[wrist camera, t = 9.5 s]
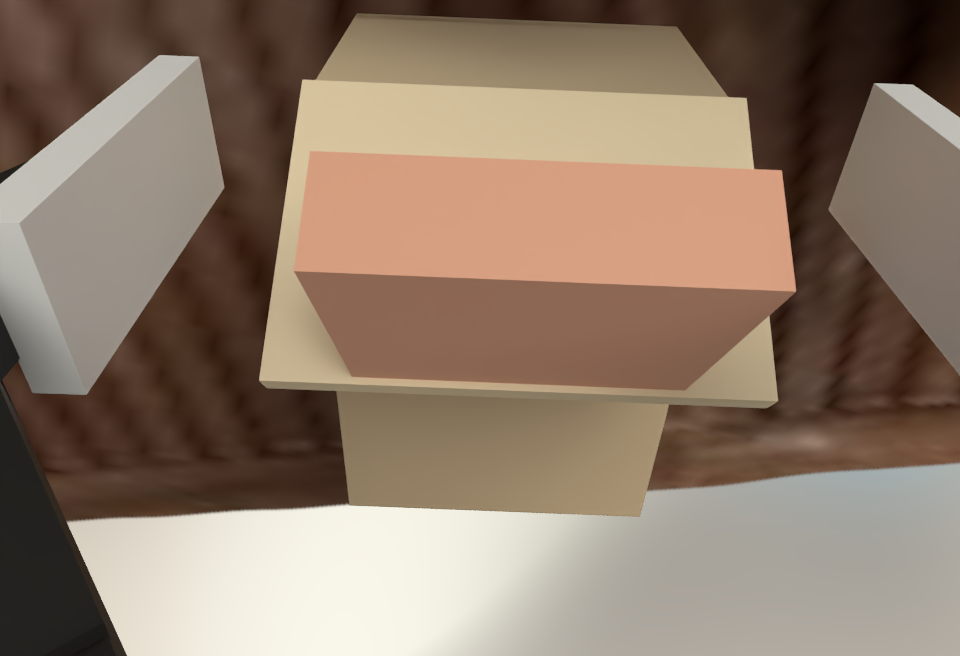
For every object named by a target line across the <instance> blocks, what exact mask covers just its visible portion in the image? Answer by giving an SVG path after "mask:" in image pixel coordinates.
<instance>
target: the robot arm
mask: <svg viewBox="0 0 960 656" xmlns="http://www.w3.org/2000/svg"><path fill="white" fill-rule="evenodd" d="M223 189H224V183H223V178H222V173H221V168H220V162H219V157H218V152H217V147H216V142H215V137H214V132H213V126H212V121H211V116H210V111H209V106H208V101H207V96H206V90H205V85H204V80H203V75H202V70H201V65H200V60H199V57H190V56H164V55H159V56H158V57H156V58H155V59H154V60H153V61H151V62H150V63H149V64H148V65H147V66H145V67H144V68H143V69H142V70H140V71H139V72H138V73H137V74H135V75H134V76H133V77H132V78H131V79H129V80H128V81H127V82H126V83H124V84H123V85H122V86H121V87H119V88H118V89H117V90H116V91H114V92H113V93H112V94H111V95H110V96H108V97H107V98H106V99H105V100H103V101H102V102H101V103H100V104H98V105H97V106H96V107H95V108H93V109H92V110H91V111H90V112H89V113H87V114H86V115H85V116H84V117H82V118H81V119H80V120H79V121H77V122H76V123H75V124H74V125H72V126H71V127H70V128H69V129H68V130H66V131H65V132H64V133H63V134H61V135H60V136H59V137H58V138H56V139H55V140H54V141H53V142H51V143H50V144H49V145H48V146H47V147H45V148H44V149H43V150H42V151H40V152H39V153H38V154H37V155H35V156H34V157H33V158H32V159H31V160H29V161H27V162H25V163H22V164H20V165H18V166H16V167H13V168H11V169H9V170H6V171H4V172H2V173H0V656H127V655H126V653H125V651H124V648H123V646H122V644H121V642H120V639H119V637H118V635H117V633H116V631H115V628H114V626H113V624H112V622H111V620H110V617H109V615H108V613H107V611H106V608H105V606H104V604H103V602H102V600H101V597H100V595H99V593H98V591H97V589H96V587H95V584H94V582H93V580H92V577H91V576H90V573H89V571H88V569H87V566H86V564H85V562H84V560H83V558H82V556H81V553H80V551H79V549H78V546H77V544H76V542H75V540H74V538H73V535H72V533H71V531H70V529H69V527H68V524H67V522H66V520H65V518H64V516H63V513H62V511H61V509H60V507H59V504H58V502H57V500H56V498H55V496H54V493H53V491H52V489H51V487H50V485H49V482H48V480H47V478H46V476H45V473H44V471H43V469H42V467H41V465H40V462H39V460H38V458H37V456H36V454H35V451H34V449H33V447H32V445H31V442H30V440H29V438H28V436H27V434H26V431H25V429H24V427H23V425H22V423H21V420H20V418H19V416H18V414H17V411H16V409H15V407H14V405H13V403H12V400H11V398H10V396H9V394H8V392H7V390H6V388H5V386H4V384H3V382H2V379H3V378H4V377H5V376H6V374H7V373H8V372H9V371H10V370H11V368H12V367H13V366H14V365H15V363H16V362H17V361H18V362H19V364H20V366H21V368H22V371H23V373H24V375H25V377H26V379H27V382H28V384H29V386H30V388H31V391H32V393H50V394H80V395H87V393H88V392H89V390H90V389H91V387H92V386H93V384H94V383H95V381H96V380H97V378H98V377H99V375H100V374H101V372H102V371H103V369H104V368H105V366H106V365H107V363H108V362H109V360H110V359H111V357H112V356H113V354H114V353H115V351H116V350H117V348H118V347H119V345H120V344H121V342H122V341H123V339H124V338H125V336H126V335H127V333H128V332H129V330H130V329H131V327H132V326H133V324H134V323H135V321H136V320H137V318H138V317H139V315H140V314H141V312H142V311H143V309H144V308H145V306H146V305H147V303H148V302H149V300H150V299H151V297H152V296H153V294H154V293H155V291H156V290H157V288H158V287H159V285H160V284H161V282H162V281H163V279H164V278H165V276H166V275H167V273H168V272H169V270H170V269H171V267H172V266H173V264H174V263H175V261H176V260H177V258H178V257H179V255H180V254H181V252H182V251H183V249H184V248H185V246H186V245H187V243H188V242H189V240H190V239H191V237H192V236H193V234H194V233H195V231H196V230H197V228H198V227H199V225H200V224H201V222H202V221H203V219H204V218H205V216H206V215H207V213H208V211H209V210H210V208H211V207H212V205H213V204H214V202H215V201H216V199H217V198H218V196H219V195H220V193H221V192H222V190H223ZM828 210H829V212H830V213H831V214H832V215H833V217H834V218H835V219H836V220H837V222H838V223H839V224H840V225H841V227H842V228H843V229H844V230H845V232H846V233H847V234H848V235H849V237H850V238H851V239H852V240H853V242H854V243H855V244H856V245H857V247H858V248H859V249H860V250H861V252H862V253H863V254H864V256H865V257H866V258H867V259H868V261H869V262H870V263H871V264H872V266H873V267H874V268H875V269H876V271H877V272H878V273H879V274H880V276H881V277H882V278H883V279H884V281H885V282H886V283H887V284H888V286H889V287H890V288H891V289H892V291H893V292H894V293H895V295H896V296H897V297H898V298H899V300H900V301H901V302H902V303H903V305H904V306H905V307H906V308H907V310H908V311H909V312H910V313H911V315H912V316H913V317H914V318H915V320H916V321H917V322H918V323H919V325H920V326H921V327H922V328H923V330H924V331H925V332H926V333H927V335H928V336H929V337H930V339H931V340H932V341H933V342H934V344H935V345H936V346H937V347H938V349H939V350H940V351H941V352H942V354H943V355H944V356H945V357H946V359H947V360H948V361H949V362H950V364H951V365H952V366H953V367H954V369H955V370H956V371H957V372H958V374H959V375H960V118H959V117H958V116H957V115H955V114H954V113H952V112H951V111H950V110H948V109H947V108H945V107H944V106H943V105H941V104H940V103H938V102H937V101H935V100H934V99H933V98H931V97H930V96H928V95H927V94H926V93H924V92H923V91H921V90H920V89H918V88H917V87H916V86H914V85H909V84H883V83H874V85H873V88H872V90H871V93H870V96H869V99H868V101H867V104H866V107H865V110H864V112H863V115H862V118H861V121H860V124H859V126H858V129H857V132H856V135H855V137H854V140H853V143H852V146H851V148H850V151H849V154H848V157H847V160H846V162H845V165H844V168H843V171H842V173H841V176H840V179H839V182H838V184H837V187H836V190H835V193H834V196H833V198H832V201H831V204H830V207H829V209H828Z"/></svg>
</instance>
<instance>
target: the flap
mask: <svg viewBox="0 0 960 656" xmlns="http://www.w3.org/2000/svg"><path fill="white" fill-rule="evenodd" d="M795 292H796V286H795V278H794V269H793V261H792V252H791V244H790V236H789V227H788V219H787V210H786V202H785V193H784V185H783V177H782V170H760V169H754V165H753V155H752V145H751V136H750V126H749V117H748V107H747V98H733V97H709V96H685V95H660V94H636V93H612V92H588V91H564V90H540V89H516V88H492V87H467V86H443V85H419V84H395V83H371V82H347V81H323V80H302V86H301V93H300V100H299V107H298V114H297V121H296V128H295V134H294V141H293V148H292V155H291V162H290V169H289V176H288V183H287V190H286V197H285V204H284V211H283V217H282V224H281V231H280V238H279V245H278V252H277V259H276V266H275V273H274V280H273V287H272V294H271V300H270V307H269V314H268V321H267V328H266V335H265V342H264V349H263V356H262V363H261V370H260V377H259V381H260V382H261V383H262V384H263V385H264V386H265V387H266V388H275V389H300V390H325V391H350V392H375V393H400V394H425V395H450V396H475V397H499V398H524V399H549V400H574V401H599V402H624V403H649V404H674V405H699V406H724V407H749V408H768V407H769V406H771V405H773V404H775V403H776V402H778V396H777V386H776V376H775V367H774V357H773V348H772V338H771V328H770V319H769V315H770V314H772V313H773V312H774V311H775V310H776V309H777V308H778V307H779V306H781V305H782V304H783V303H784V302H785V301H786V300H787V299H788V298H790V297H791V296H792V295H793V294H794V293H795Z"/></svg>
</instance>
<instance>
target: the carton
mask: <svg viewBox="0 0 960 656" xmlns="http://www.w3.org/2000/svg"><path fill="white" fill-rule="evenodd" d="M316 80H323V81H347V82H371V83H395V84H419V85H443V86H467V87H492V88H516V89H540V90H564V91H588V92H612V93H636V94H660V95H685V96H709V97H728V96H727V95H726V94H725V92H724V91H723V90H722V88H721V87H720V85H719V84H718V83H717V81H716V80H715V79H714V77H713V76H712V74H711V73H710V72H709V70H708V69H707V67H706V66H705V65H704V63H703V62H702V61H701V59H700V58H699V56H698V55H697V54H696V52H695V51H694V50H693V48H692V47H691V45H690V44H689V43H688V41H687V40H686V39H685V37H684V36H683V34H682V33H681V32H680V30H679V29H678V28H677V27H676V26H652V25H628V24H604V23H580V22H556V21H532V20H508V19H484V18H460V17H436V16H412V15H388V14H364V13H357V14H356V16H355V18H354V19H353V21H352V22H351V24H350V26H349V27H348V29H347V30H346V32H345V34H344V35H343V37H342V38H341V40H340V42H339V43H338V45H337V47H336V48H335V50H334V51H333V53H332V55H331V56H330V58H329V59H328V61H327V63H326V64H325V66H324V67H323V69H322V71H321V72H320V74H319V76H318V77H317V79H316ZM336 392H337V401H338V409H339V418H340V427H341V435H342V444H343V453H344V461H345V470H346V479H347V487H348V496H349V505H355V506H380V507H405V508H431V509H456V510H481V511H506V512H507V511H508V512H532V513H556V514H557V513H558V514H583V515H607V516H634V517H639V516H640V514H641V510H642V506H643V502H644V498H645V494H646V491H647V487H648V483H649V479H650V476H651V472H652V468H653V464H654V460H655V456H656V453H657V449H658V445H659V441H660V437H661V434H662V430H663V426H664V422H665V418H666V414H667V411H668V407H669V404H649V403H624V402H599V401H574V400H549V399H524V398H499V397H475V396H450V395H425V394H400V393H375V392H350V391H336Z"/></svg>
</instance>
